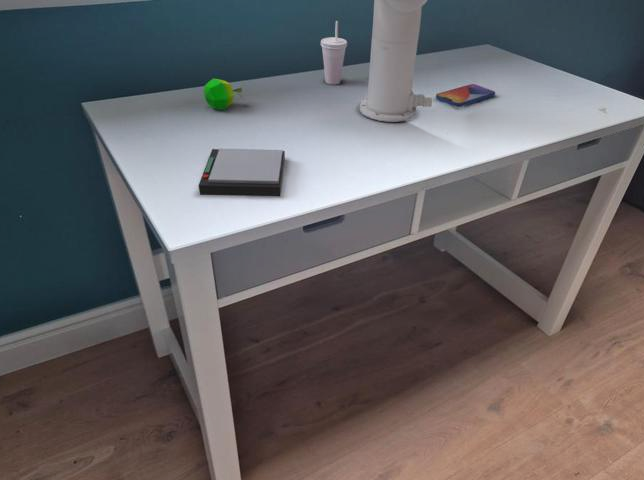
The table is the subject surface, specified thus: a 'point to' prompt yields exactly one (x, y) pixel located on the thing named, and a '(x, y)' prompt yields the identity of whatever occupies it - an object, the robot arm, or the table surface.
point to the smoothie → (333, 57)
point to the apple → (219, 94)
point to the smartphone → (465, 95)
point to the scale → (243, 172)
